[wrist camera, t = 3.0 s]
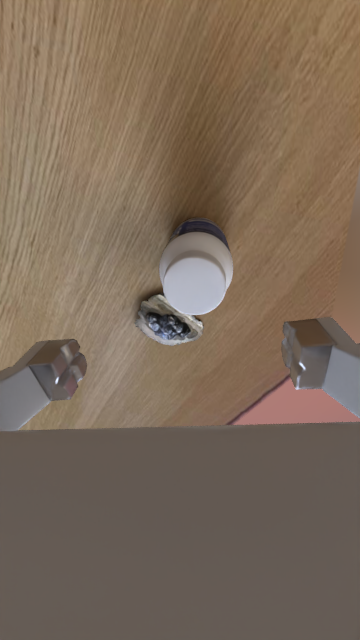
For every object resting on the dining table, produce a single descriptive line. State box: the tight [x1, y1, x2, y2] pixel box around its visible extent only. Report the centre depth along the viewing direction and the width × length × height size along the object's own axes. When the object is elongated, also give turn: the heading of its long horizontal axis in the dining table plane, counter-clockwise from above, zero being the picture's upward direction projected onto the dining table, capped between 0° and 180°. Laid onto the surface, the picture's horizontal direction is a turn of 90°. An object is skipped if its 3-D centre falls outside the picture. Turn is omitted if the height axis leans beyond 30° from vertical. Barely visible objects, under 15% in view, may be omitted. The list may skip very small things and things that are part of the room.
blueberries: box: [135, 293, 204, 346], centre depth 27 cm, size 7×8×2 cm
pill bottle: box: [159, 218, 233, 315], centre depth 19 cm, size 5×5×10 cm
